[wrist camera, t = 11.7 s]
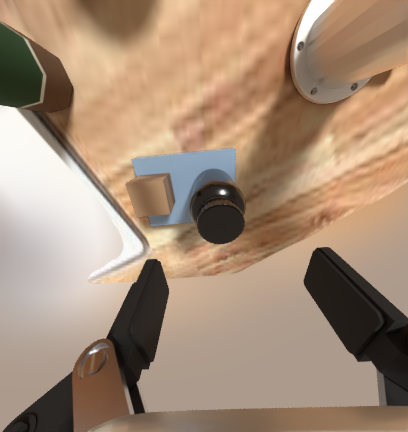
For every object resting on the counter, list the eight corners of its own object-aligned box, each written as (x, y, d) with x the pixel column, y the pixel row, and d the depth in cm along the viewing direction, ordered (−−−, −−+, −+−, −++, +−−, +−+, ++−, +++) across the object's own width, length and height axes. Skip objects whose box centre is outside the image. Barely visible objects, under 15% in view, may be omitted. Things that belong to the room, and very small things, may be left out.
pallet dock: (232, 147, 25) (235, 148, 23) (232, 211, 31) (235, 218, 28) (138, 157, 26) (131, 159, 23) (155, 218, 31) (151, 226, 29)
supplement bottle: (189, 170, 24) (181, 195, 13) (232, 165, 24) (258, 187, 13) (195, 209, 27) (191, 254, 17) (233, 205, 27) (254, 249, 16)
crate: (169, 172, 24) (162, 180, 20) (175, 201, 27) (170, 214, 22) (139, 175, 24) (125, 183, 20) (147, 204, 27) (136, 217, 22)
